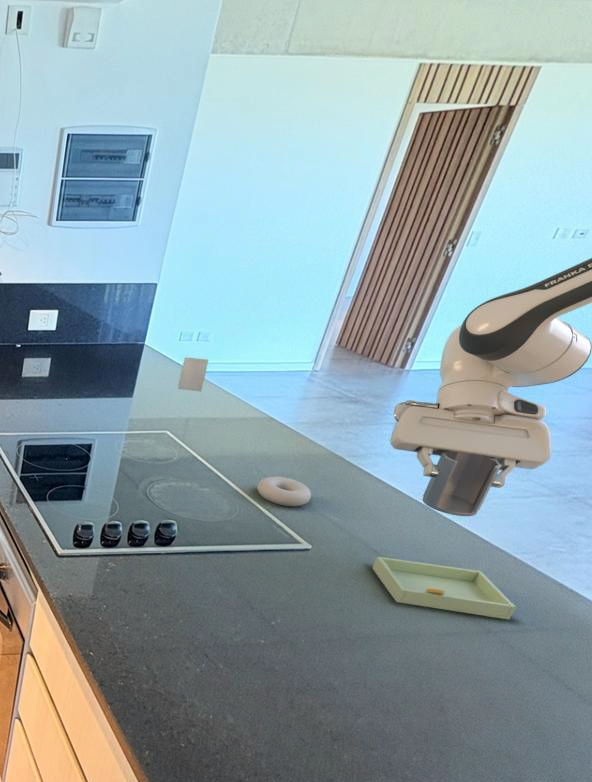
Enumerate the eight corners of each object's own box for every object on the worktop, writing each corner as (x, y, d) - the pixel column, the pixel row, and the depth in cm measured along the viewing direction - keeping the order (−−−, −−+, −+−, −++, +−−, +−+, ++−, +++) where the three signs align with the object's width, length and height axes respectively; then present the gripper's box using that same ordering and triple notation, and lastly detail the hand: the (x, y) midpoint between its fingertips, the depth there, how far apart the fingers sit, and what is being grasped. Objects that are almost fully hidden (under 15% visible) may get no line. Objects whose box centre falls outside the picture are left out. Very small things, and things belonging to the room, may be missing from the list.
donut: (315, 499, 134) (266, 482, 140) (320, 485, 132) (270, 469, 139) (298, 514, 128) (247, 496, 135) (303, 500, 126) (252, 482, 133)
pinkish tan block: (201, 391, 198) (208, 361, 193) (178, 388, 200) (185, 358, 196) (200, 388, 201) (208, 358, 196) (178, 385, 203) (184, 356, 199)
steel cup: (417, 492, 111) (437, 447, 106) (469, 501, 108) (491, 454, 104) (428, 510, 105) (449, 463, 101) (483, 520, 102) (507, 471, 98)
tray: (474, 582, 107) (480, 570, 105) (509, 619, 98) (516, 607, 97) (371, 567, 111) (377, 556, 109) (396, 602, 102) (402, 589, 101)
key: (424, 588, 100) (424, 591, 100) (443, 590, 98) (442, 593, 98) (431, 591, 103) (431, 594, 103) (449, 593, 102) (448, 596, 101)
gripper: (403, 390, 108) (394, 461, 105) (559, 409, 100) (555, 487, 96) (388, 406, 114) (379, 474, 110) (535, 425, 105) (530, 499, 102)
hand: (462, 480), depth 103 cm, fingers closed on steel cup, 7 cm apart
